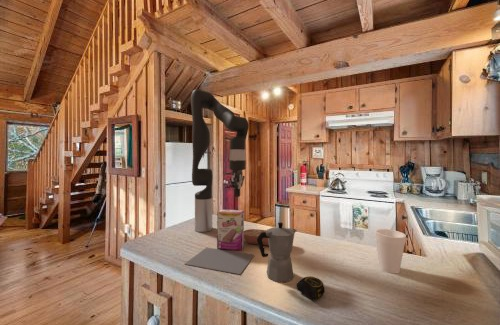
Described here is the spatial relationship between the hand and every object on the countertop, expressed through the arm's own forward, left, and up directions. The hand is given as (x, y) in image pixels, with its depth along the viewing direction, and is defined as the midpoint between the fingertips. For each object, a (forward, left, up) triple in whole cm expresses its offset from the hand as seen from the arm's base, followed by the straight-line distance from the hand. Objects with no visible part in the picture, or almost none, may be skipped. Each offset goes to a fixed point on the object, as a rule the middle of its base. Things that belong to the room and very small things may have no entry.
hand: (237, 196), depth 106 cm
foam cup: (+6, +61, -22) cm, 65 cm away
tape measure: (+31, +36, -22) cm, 52 cm away
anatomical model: (-1, +14, -22) cm, 26 cm away
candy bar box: (+8, 0, -22) cm, 23 cm away
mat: (+19, +1, -21) cm, 29 cm away
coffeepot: (+24, +24, -22) cm, 40 cm away
